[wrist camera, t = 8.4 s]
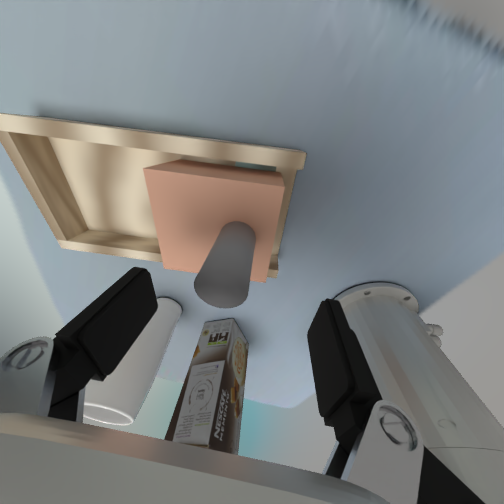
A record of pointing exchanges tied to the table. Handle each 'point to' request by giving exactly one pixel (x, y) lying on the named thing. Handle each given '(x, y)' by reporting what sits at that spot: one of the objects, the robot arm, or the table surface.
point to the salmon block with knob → (215, 224)
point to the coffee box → (213, 391)
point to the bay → (119, 178)
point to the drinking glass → (133, 371)
